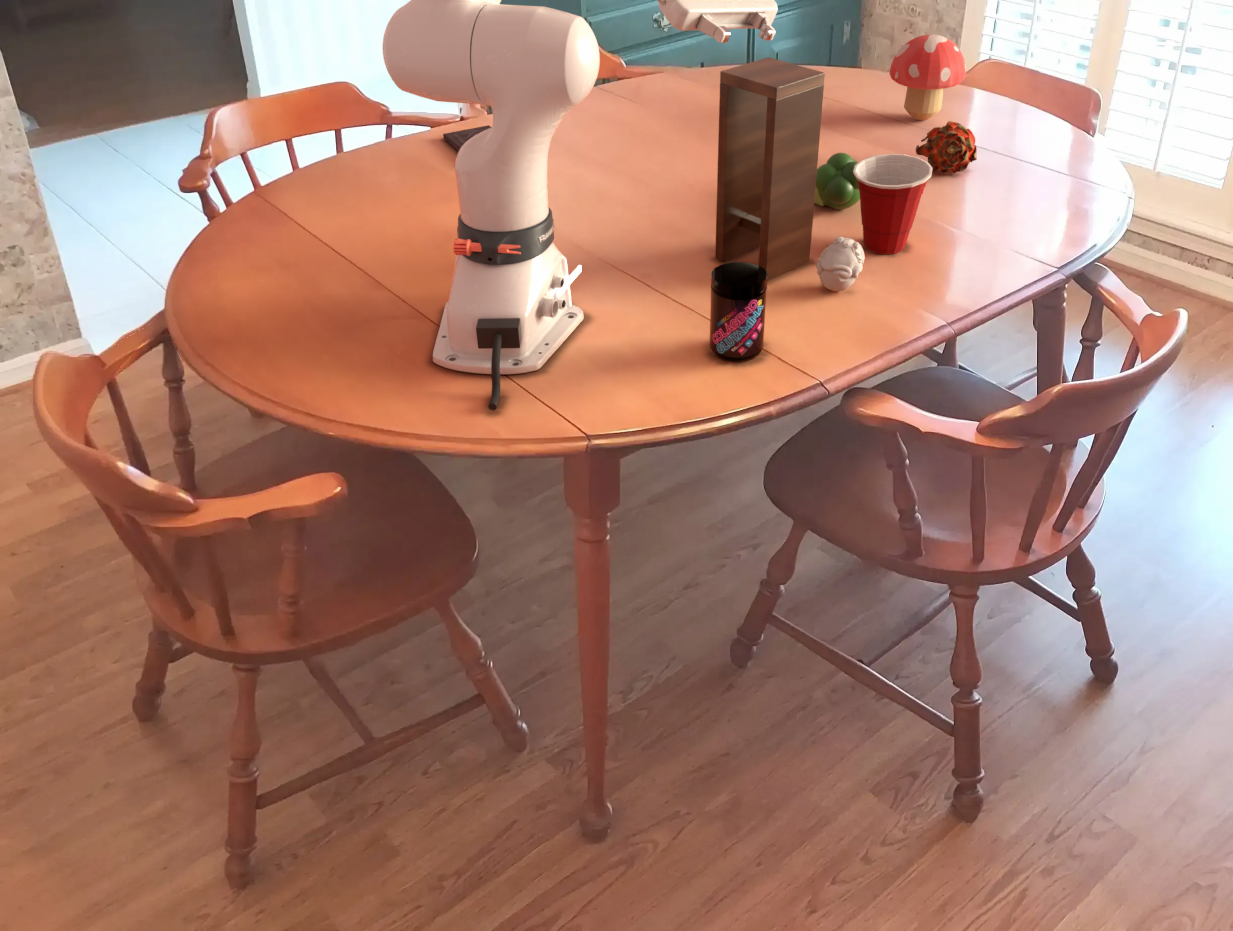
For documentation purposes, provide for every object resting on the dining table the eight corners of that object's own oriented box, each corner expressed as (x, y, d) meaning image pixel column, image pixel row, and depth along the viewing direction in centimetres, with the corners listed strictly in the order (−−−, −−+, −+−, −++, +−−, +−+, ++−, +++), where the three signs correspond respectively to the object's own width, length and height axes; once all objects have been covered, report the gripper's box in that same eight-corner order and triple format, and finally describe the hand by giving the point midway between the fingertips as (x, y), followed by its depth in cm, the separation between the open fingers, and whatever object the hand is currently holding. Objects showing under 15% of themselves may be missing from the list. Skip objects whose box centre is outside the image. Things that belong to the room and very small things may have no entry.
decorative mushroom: (944, 136, 196) (958, 49, 187) (873, 125, 201) (882, 40, 193) (967, 114, 205) (981, 31, 196) (898, 104, 210) (908, 22, 202)
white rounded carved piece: (871, 287, 149) (877, 239, 145) (840, 304, 145) (845, 256, 141) (834, 273, 152) (839, 226, 148) (803, 290, 149) (807, 242, 144)
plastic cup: (829, 246, 160) (837, 166, 153) (877, 225, 165) (886, 147, 158) (889, 270, 153) (899, 187, 146) (936, 247, 158) (949, 167, 151)
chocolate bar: (488, 125, 204) (526, 154, 191) (489, 130, 204) (527, 160, 191) (443, 134, 201) (478, 164, 188) (443, 139, 201) (479, 169, 188)
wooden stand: (809, 262, 156) (825, 72, 140) (765, 281, 151) (776, 88, 135) (758, 241, 162) (768, 57, 146) (714, 259, 157) (720, 71, 142)
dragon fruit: (957, 194, 178) (924, 178, 189) (999, 158, 177) (964, 144, 187) (931, 154, 174) (899, 140, 185) (974, 117, 173) (939, 105, 183)
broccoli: (878, 207, 171) (884, 154, 166) (841, 223, 166) (846, 169, 161) (795, 177, 182) (799, 127, 177) (759, 191, 177) (761, 140, 172)
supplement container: (698, 354, 136) (700, 277, 129) (727, 332, 140) (729, 257, 134) (745, 369, 132) (749, 292, 126) (773, 346, 137) (778, 270, 130)
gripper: (652, -34, 163) (705, 20, 157) (751, -33, 174) (803, 17, 168) (639, 6, 167) (689, 59, 161) (736, 4, 178) (786, 53, 173)
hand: (748, 37), depth 165 cm, fingers open, 8 cm apart
